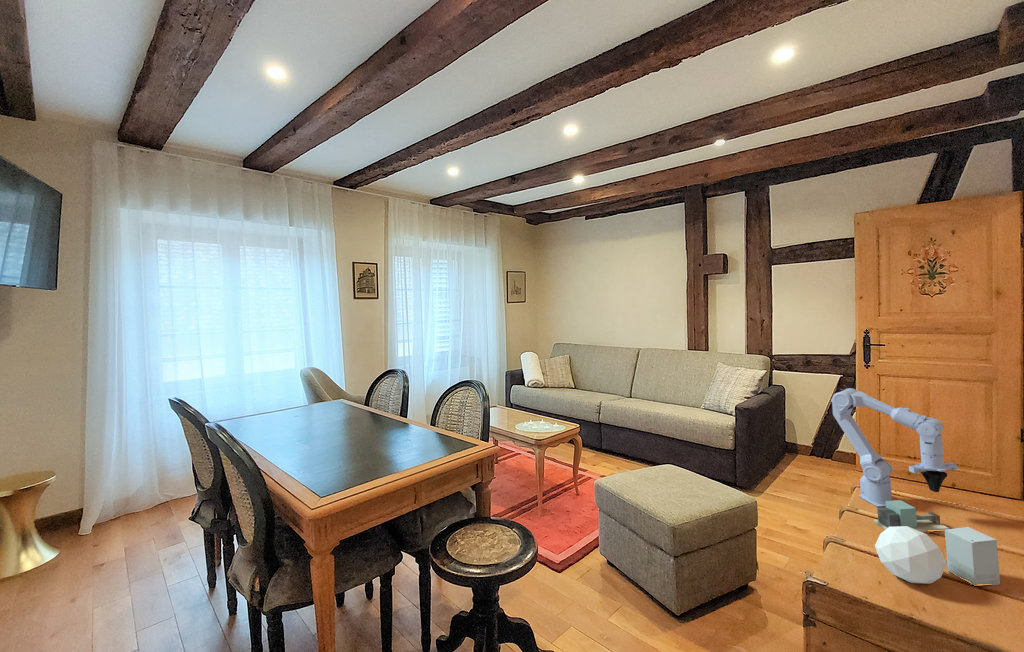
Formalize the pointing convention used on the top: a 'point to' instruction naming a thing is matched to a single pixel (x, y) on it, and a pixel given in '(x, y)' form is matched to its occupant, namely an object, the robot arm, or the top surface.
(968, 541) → the supplement box
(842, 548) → the top surface
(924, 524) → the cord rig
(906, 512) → the sleeve
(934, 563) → the geometric sphere
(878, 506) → the robot arm
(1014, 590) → the top surface
